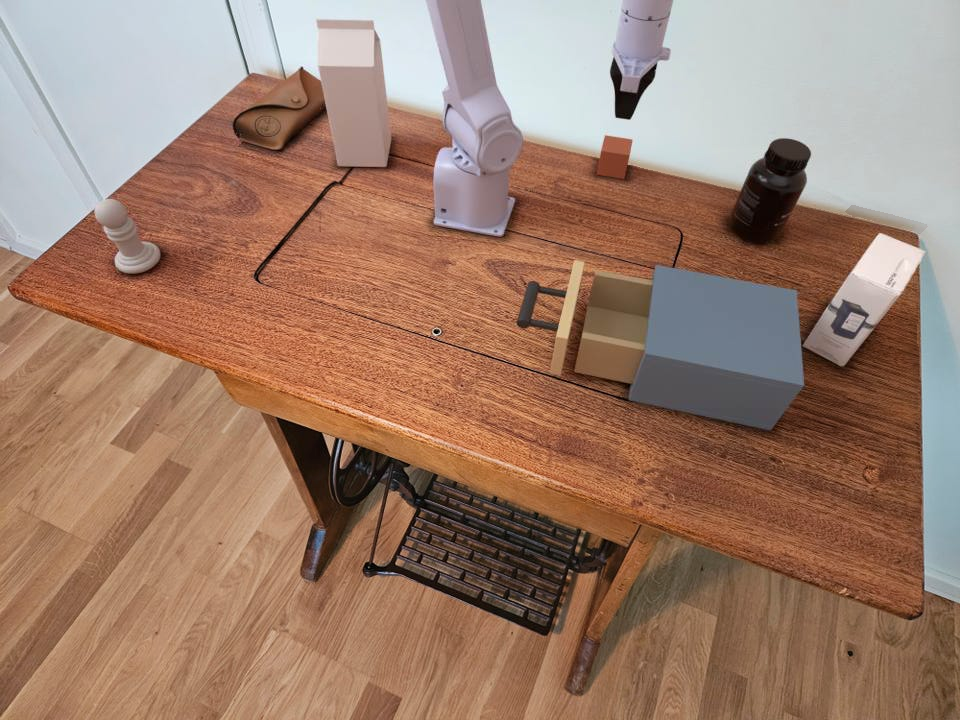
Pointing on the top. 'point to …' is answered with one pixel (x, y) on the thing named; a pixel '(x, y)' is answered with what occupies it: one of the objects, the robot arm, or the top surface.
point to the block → (614, 157)
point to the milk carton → (354, 91)
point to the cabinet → (720, 348)
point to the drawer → (598, 323)
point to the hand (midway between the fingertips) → (623, 116)
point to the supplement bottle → (770, 191)
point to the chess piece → (126, 238)
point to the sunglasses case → (281, 112)
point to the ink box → (864, 298)
